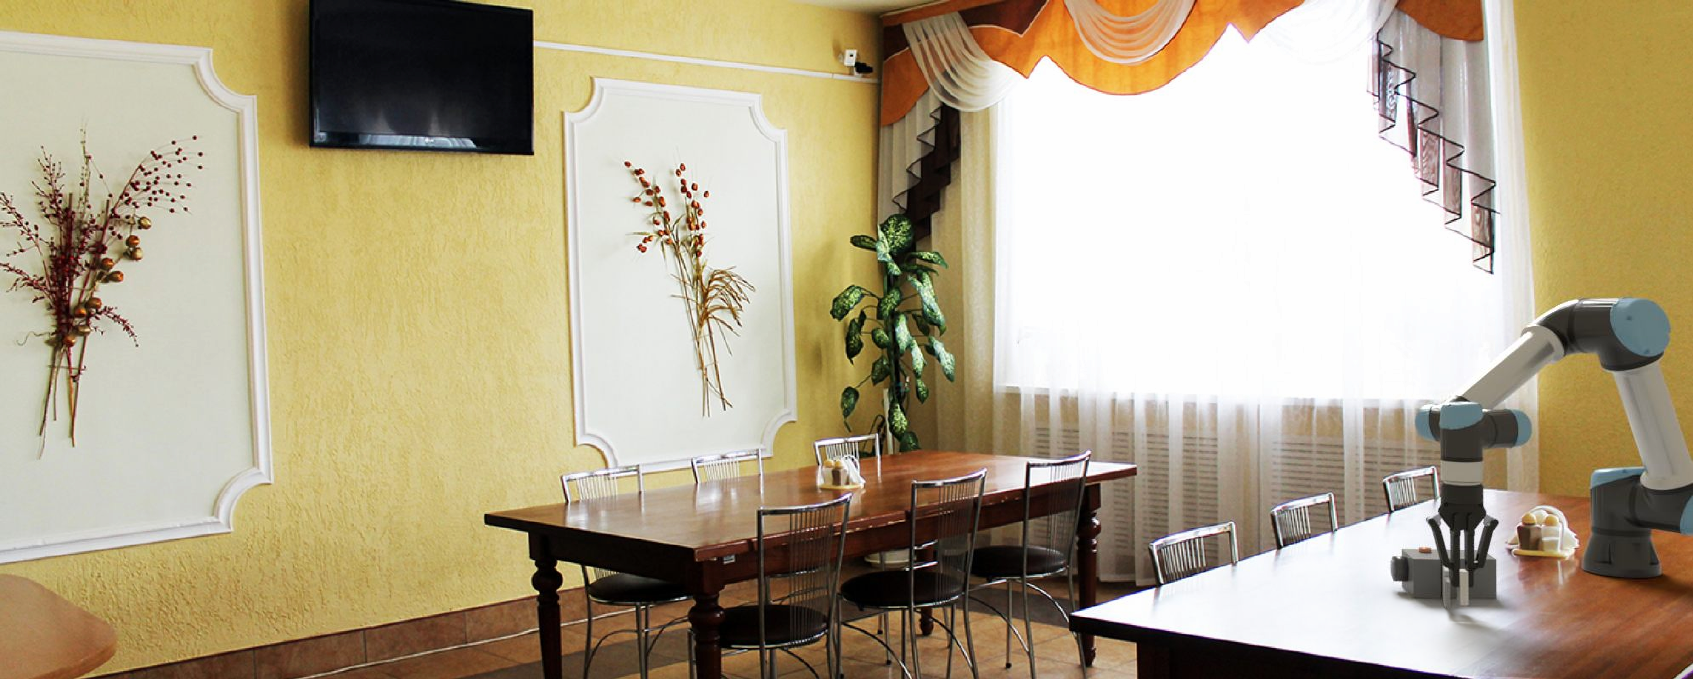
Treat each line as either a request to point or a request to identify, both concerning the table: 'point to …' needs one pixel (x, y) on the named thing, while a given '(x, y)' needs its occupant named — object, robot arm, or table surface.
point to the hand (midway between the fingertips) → (1462, 603)
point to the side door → (1445, 587)
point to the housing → (1439, 574)
